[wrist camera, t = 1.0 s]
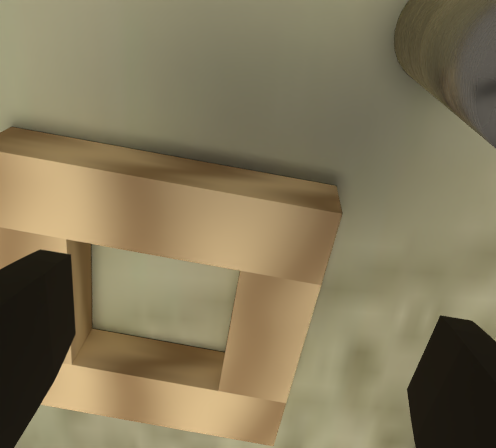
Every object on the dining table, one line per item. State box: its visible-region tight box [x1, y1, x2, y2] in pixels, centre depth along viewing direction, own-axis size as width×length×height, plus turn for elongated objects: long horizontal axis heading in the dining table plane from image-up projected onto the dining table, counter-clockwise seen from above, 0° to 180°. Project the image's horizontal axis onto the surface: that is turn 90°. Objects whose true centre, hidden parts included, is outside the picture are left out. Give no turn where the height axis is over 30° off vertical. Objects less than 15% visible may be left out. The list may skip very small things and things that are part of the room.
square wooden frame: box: [0, 127, 342, 446], centre depth 21 cm, size 14×14×2 cm
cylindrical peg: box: [394, 0, 496, 148], centre depth 12 cm, size 4×4×8 cm
